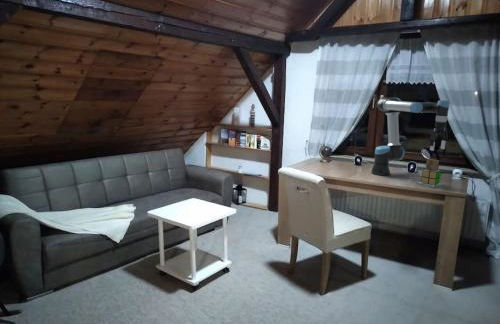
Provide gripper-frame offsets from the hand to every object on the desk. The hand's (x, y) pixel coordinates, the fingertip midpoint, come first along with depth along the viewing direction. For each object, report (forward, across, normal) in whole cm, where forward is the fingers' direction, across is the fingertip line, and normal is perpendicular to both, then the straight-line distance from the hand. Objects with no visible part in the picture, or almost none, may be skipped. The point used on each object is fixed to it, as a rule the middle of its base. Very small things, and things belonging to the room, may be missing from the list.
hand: (437, 149), depth 267 cm
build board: (+26, -5, -1) cm, 27 cm away
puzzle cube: (+26, -5, -1) cm, 26 cm away
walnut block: (+15, -5, -1) cm, 16 cm away
